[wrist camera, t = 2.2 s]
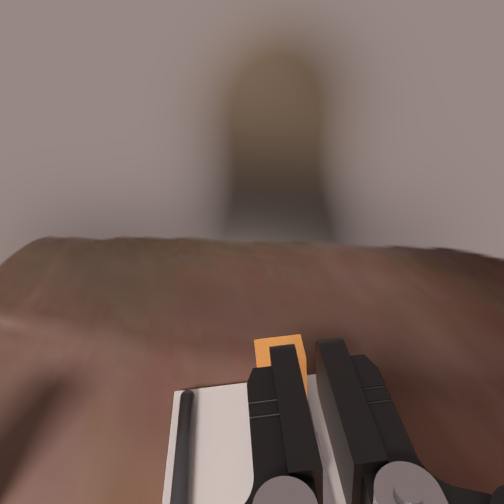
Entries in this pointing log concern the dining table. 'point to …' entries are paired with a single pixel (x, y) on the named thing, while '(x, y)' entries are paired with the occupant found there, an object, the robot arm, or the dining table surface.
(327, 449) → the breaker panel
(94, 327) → the dining table surface
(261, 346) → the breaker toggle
